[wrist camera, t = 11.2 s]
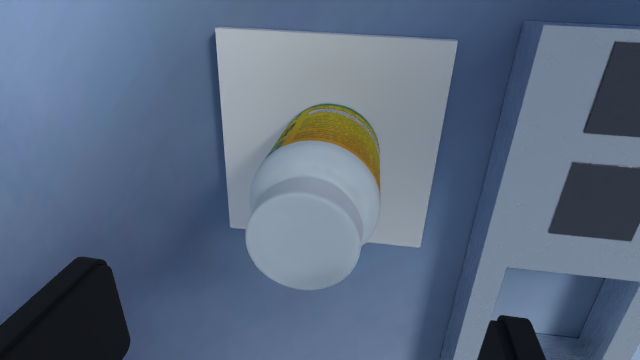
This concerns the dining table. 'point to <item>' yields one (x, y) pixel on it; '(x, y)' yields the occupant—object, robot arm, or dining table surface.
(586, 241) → the grey board with squares
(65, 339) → the robot arm
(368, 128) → the supplement bottle
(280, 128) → the plate
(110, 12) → the dining table surface
